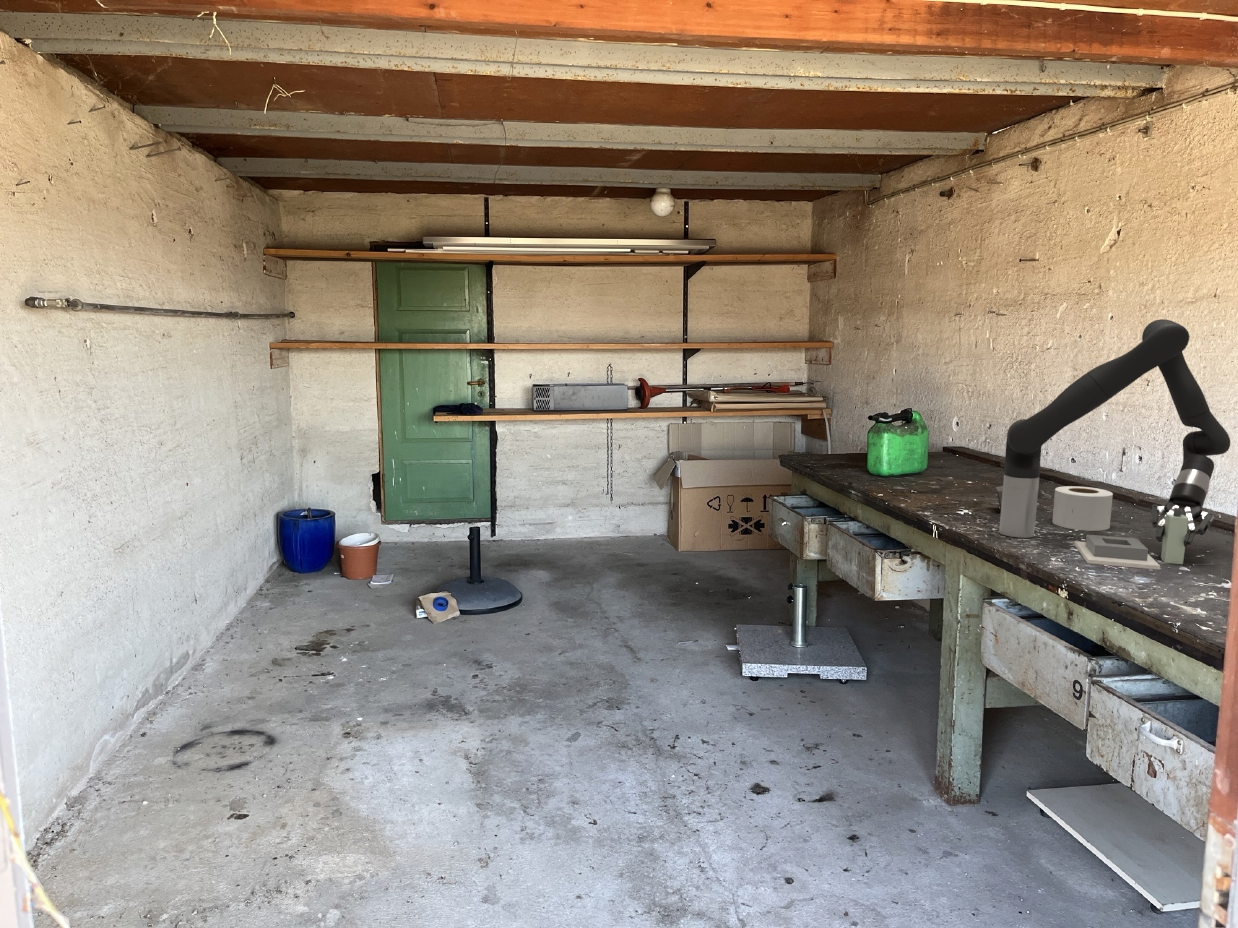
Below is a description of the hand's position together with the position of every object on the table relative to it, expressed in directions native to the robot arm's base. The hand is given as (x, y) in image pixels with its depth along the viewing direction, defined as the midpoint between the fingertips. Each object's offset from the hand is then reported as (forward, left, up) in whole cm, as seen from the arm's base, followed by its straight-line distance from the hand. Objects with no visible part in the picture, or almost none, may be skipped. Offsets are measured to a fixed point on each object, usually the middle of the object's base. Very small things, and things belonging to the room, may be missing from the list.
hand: (1172, 542), depth 220 cm
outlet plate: (-2, -12, -5) cm, 13 cm away
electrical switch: (-51, -34, -6) cm, 61 cm away
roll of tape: (-40, -14, -6) cm, 42 cm away
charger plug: (-2, +1, -5) cm, 6 cm away
